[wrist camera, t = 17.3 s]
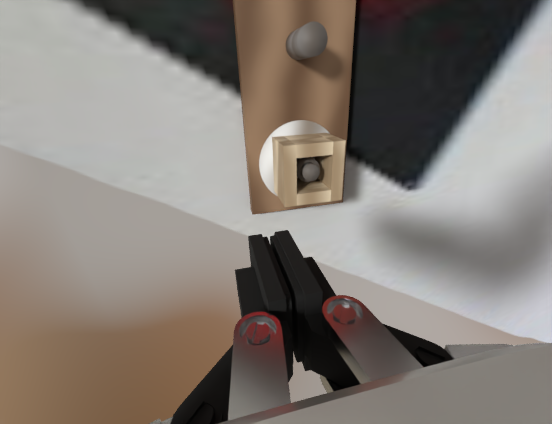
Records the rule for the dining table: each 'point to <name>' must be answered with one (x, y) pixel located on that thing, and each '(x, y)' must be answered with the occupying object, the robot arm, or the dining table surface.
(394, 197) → the dining table surface
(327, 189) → the collar
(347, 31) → the hub board
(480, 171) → the dining table surface
